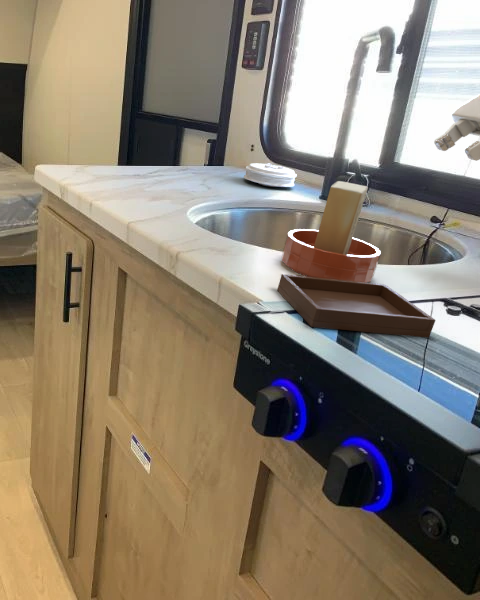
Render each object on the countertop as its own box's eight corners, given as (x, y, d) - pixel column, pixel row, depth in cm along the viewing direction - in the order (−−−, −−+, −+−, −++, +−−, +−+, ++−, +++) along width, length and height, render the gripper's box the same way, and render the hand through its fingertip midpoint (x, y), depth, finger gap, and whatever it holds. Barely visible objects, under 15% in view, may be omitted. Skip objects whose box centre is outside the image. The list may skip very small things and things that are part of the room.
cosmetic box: (315, 258, 92) (337, 179, 87) (344, 266, 90) (369, 186, 85) (306, 268, 87) (330, 185, 82) (337, 276, 85) (363, 191, 80)
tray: (380, 300, 79) (385, 284, 78) (429, 338, 69) (436, 320, 68) (277, 290, 78) (281, 273, 77) (311, 327, 68) (316, 308, 67)
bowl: (346, 261, 95) (354, 234, 93) (388, 291, 83) (398, 261, 82) (268, 253, 94) (275, 225, 92) (299, 282, 82) (308, 251, 80)
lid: (302, 192, 149) (307, 172, 147) (254, 187, 147) (259, 167, 145) (279, 181, 160) (284, 162, 158) (235, 177, 158) (239, 158, 156)
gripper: (504, 64, 86) (412, 125, 90) (600, 63, 67) (477, 140, 71) (524, 101, 87) (432, 159, 91) (624, 110, 68) (502, 182, 72)
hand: (452, 151), depth 81 cm, fingers open, 8 cm apart
